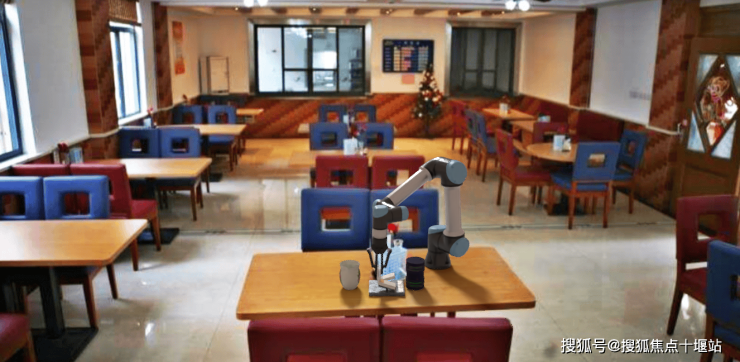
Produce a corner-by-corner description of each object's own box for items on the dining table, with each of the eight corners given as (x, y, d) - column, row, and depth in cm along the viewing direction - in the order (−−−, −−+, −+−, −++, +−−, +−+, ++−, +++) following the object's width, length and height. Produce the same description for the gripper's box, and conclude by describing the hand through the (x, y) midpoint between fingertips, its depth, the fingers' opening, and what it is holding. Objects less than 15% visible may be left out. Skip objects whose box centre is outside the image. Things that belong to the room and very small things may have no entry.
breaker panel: (403, 283, 303) (403, 277, 302) (404, 296, 288) (404, 289, 287) (369, 283, 303) (369, 277, 302) (368, 296, 288) (368, 289, 288)
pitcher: (360, 279, 308) (360, 255, 305) (360, 293, 291) (360, 268, 288) (340, 279, 308) (339, 255, 305) (338, 293, 291) (338, 268, 288)
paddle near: (394, 285, 293) (395, 282, 293) (394, 289, 289) (395, 286, 289) (377, 281, 293) (378, 278, 292) (377, 284, 288) (378, 281, 288)
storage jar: (409, 291, 294) (409, 264, 290) (402, 283, 303) (403, 257, 299) (427, 289, 296) (427, 262, 292) (420, 281, 305) (421, 255, 302)
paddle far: (394, 275, 300) (393, 272, 300) (395, 278, 296) (394, 275, 295) (378, 279, 301) (377, 276, 300) (378, 283, 296) (377, 280, 296)
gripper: (393, 233, 288) (391, 277, 294) (366, 233, 288) (365, 276, 294) (393, 238, 281) (392, 283, 287) (366, 238, 281) (365, 282, 287)
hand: (378, 280), depth 290 cm, fingers closed
